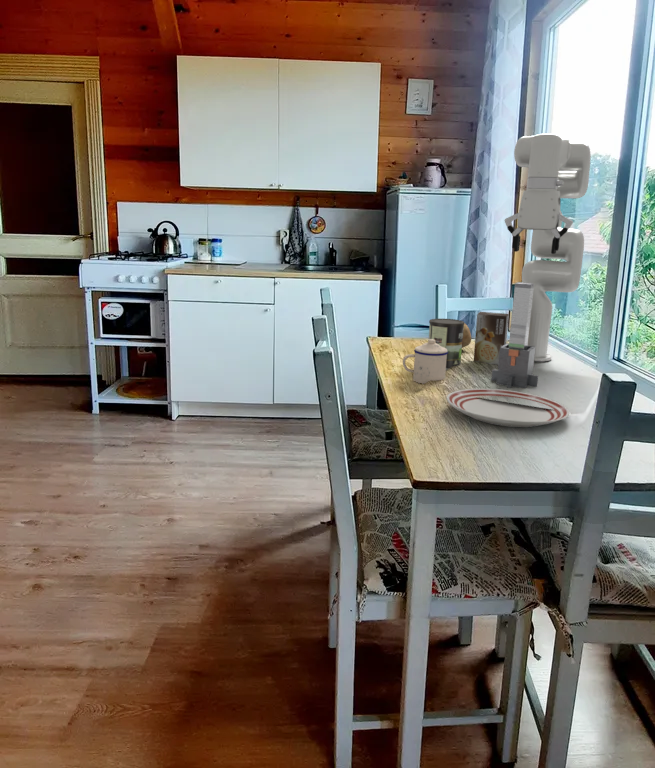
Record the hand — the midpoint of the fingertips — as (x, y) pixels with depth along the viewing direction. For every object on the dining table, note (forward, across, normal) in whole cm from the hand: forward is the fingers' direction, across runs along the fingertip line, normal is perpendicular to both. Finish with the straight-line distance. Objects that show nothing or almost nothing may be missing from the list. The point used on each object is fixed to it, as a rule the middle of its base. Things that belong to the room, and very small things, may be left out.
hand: (534, 252), depth 171 cm
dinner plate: (+35, -4, +36) cm, 50 cm away
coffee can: (+36, +24, -3) cm, 43 cm away
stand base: (+35, 0, +10) cm, 37 cm away
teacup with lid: (+35, +23, +17) cm, 45 cm away
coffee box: (+36, +13, -14) cm, 41 cm away
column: (+28, 0, +10) cm, 30 cm away
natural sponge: (+37, +29, -32) cm, 57 cm away
